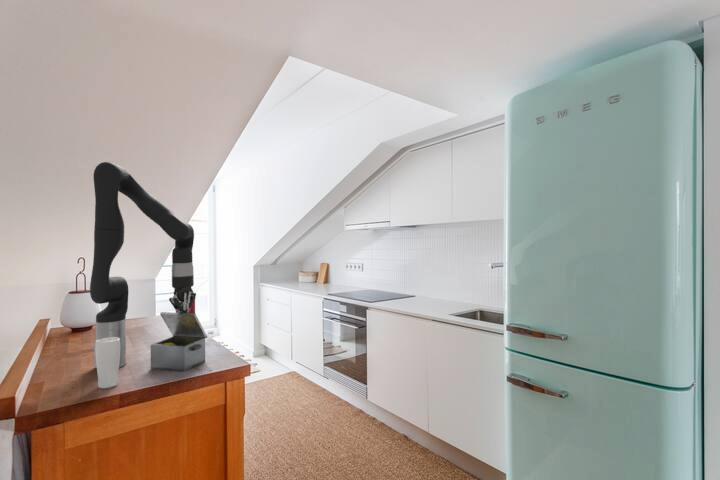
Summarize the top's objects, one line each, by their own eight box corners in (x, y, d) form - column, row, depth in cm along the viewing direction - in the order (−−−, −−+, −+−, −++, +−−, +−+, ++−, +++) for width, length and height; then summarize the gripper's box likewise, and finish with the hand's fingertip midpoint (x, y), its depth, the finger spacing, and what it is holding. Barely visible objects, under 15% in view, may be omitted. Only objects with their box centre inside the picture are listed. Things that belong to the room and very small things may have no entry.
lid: (159, 313, 141) (162, 310, 143) (173, 336, 149) (175, 333, 150) (194, 315, 138) (196, 311, 140) (206, 338, 146) (208, 335, 147)
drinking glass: (95, 391, 116) (95, 343, 116) (95, 385, 122) (94, 339, 122) (121, 386, 120) (121, 340, 120) (120, 380, 126) (119, 335, 126)
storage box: (147, 369, 137) (147, 344, 137) (170, 358, 148) (170, 335, 148) (187, 372, 133) (187, 346, 133) (207, 361, 145) (207, 338, 145)
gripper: (179, 276, 136) (180, 324, 136) (202, 272, 149) (202, 316, 149) (161, 276, 138) (162, 323, 138) (185, 272, 150) (186, 315, 151)
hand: (183, 319), depth 144 cm, fingers closed
